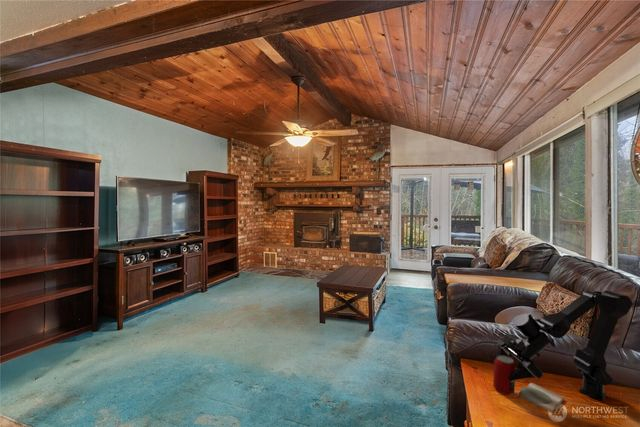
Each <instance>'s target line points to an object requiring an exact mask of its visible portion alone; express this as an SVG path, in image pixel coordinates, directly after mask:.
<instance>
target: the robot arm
mask: <svg viewBox="0 0 640 427" xmlns="http://www.w3.org/2000/svg"><path fill="white" fill-rule="evenodd" d="M596 306H598V309H599V314H598V317H597V319H596V322H595V324H594V327H593V329H592V332H591V333H590V334H591V335H590V337H589V339H588V342H587V344H586V346H585V347H584V348H582V349H580V348H577V349H576V351H575V354H574V355H573V357H572V358H573V363H574V365H575V367H576V369H577V371H578V372H580V373H581V374H582V385H581V387H580V388H579V389H578V392H579V391H580V392H579V393H582V394H584V395H586V396H589V397H590V398H594V399H596V400H598V401H601V402H603V401H604V400H605V399H606V396H607V393H605V392H604V388H605V386H608V385H611V384H612V382H613V381H614V379H613V378H612V377H611V375H609V373H608V372H607V371H606V369H607V361H606V358H605V353H606V351H607V349H608V345H609V343H610V341H611V338H612V336H613V333H614V331H615V328H616V326H617V323H618V322H619V319H621V318H623V317H624V316H626V315H628V314H629V312H630V310H631V309H632V307H633V301H632V300H631V298H630V297H629V296H628V295H626V294H622V293H619V292H616V291H612V290H603V291H598V290H585V291H583V292H582V294H581V295H580V296H578V297H577V298H576V299H575V300H573V301H572V302H570V303H569V304H567V305H566V306H565V307H564V308H562V309H561V310H560V311H557V312H554V313H549V314H547V315H544V316H543V317H542V318H538V319H537V318H536V319H534V317H533V315H532V314H530V313H529V312H525V313H524V314H523V313H521V314H519V315H516V316H515V317H514V318H513V319H512V324H513V325H514V326H515V328H517V329H518V330H519V331H520V333H521V334H522V336H524V337H525V338H522V337H520V338H517V339H516V338H515V337H513V336H511V335H509V334H507V333H505V334H504V336H503V337H502V339H501V338H499V339H498V340H497V341H496V344H497V345H496V346H497V349H498V352H497V354H496V357H495V359H496V358H497V356H498V355H504V356H507V357H510V358H511V359H512V357H514V358H515V359H517V361H518V366H517V367H516V370H515V371H514V372H513V373H512V374H511V375H510V376H509V377H508V379H509V380H510V381H512V380H515V381H518V380H522V379H532V378H533V379H538V380H540V379H541V378H542V377H543V375H544V372H543V371H542V370H541V368H540V367H539V366H538V365H537V364H536V363H535V362H534V361H533V360H532V359H533V358H534V357H535V356H536V357H538V358H539V357H541V354H540V352H541V351H542V350H543V349H545V347H547V346H548V345H549V346H551V347H552V348H555V347H556V345H555V339H562V338H563V337H565V335H566V334H567V333H568V332H570V330H571V326H572V324H573V323H574V322H576V321H577V320H579V319H580V318H582V316H584V315H585V314H586V313H588V312H589V311H590V310H592V309H593V308H595V307H596ZM547 334H548V335H550V336H548V335H547ZM552 337H553V338H552ZM554 338H555V339H554ZM494 362H495V360H494V361H493V363H492V365H493V366H494Z"/></svg>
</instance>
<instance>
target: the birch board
mask: <svg viewBox="0 0 640 427" xmlns="http://www.w3.org/2000/svg"><path fill="white" fill-rule="evenodd" d="M519 390H520V391H519V392H518V394H517V396H518V397H520V398H521V399H524V400H526V401H528V402H530V403H531V404H534V405H536V406H537V407H540V408H542V407H543V408H542V409H544V408H545V409H544V410H546V409H547V410H546V411H548V410H549V411H548V412H550V411H551V412H550V413H553V412H554V411H555V410H556V408H557V407H558V406H559V405H560V404H561V403H562V402H563V401H564V396H562V395H561V394H558V393H556V392H554V391H551V390H549V389H547V388H546V387H543V386H540V385H539V384H535V383H533V382H530V383H528V385H526V386H524V387H521V388H520V389H519ZM553 410H554V411H553ZM552 411H553V412H552Z"/></svg>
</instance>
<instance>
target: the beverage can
mask: <svg viewBox="0 0 640 427" xmlns="http://www.w3.org/2000/svg"><path fill="white" fill-rule="evenodd" d="M496 356H497V355H496ZM510 357H511V356H510ZM510 357H507V356H504V355H498V356H497V358H496V357H495V358H494V361H495V362H494V361H493V363H494V365H493V381H492V383H493V384H492V385H493V387H494V388H495V390H496V391H497V392H499V393H501V394H503V395H513V394H514V393H515V389H516V387H515V386H516V380H512V381H510V380H509V379H508V377H509V376H510V375H511V374H512V373H513V372H514V371H515V370H516V369H517V367H516V366H517V365H516V364H515V362H514V359H513V358H512V357H511V358H510Z"/></svg>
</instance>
